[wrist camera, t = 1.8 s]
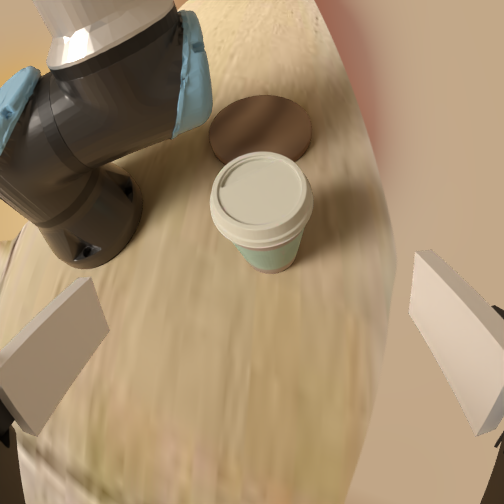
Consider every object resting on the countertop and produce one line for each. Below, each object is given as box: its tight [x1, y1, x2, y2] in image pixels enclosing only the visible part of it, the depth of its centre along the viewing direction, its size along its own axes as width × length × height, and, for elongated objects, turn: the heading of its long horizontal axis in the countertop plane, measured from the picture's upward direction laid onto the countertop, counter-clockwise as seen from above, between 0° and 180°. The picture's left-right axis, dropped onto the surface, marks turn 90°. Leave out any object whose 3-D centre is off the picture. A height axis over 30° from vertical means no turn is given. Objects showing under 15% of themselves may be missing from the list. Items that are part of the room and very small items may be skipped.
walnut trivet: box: [209, 95, 312, 165], centre depth 41 cm, size 14×14×2 cm
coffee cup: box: [210, 152, 314, 274], centre depth 30 cm, size 8×9×12 cm
